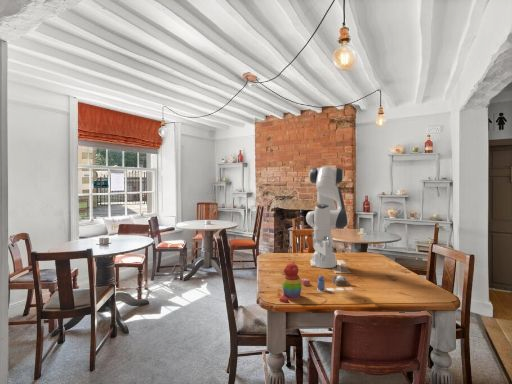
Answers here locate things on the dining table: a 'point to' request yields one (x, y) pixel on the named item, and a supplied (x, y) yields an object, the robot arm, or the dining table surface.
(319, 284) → the pawn
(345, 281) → the popper box
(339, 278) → the dome
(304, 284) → the die
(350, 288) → the track
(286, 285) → the stacking bear
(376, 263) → the dining table surface
